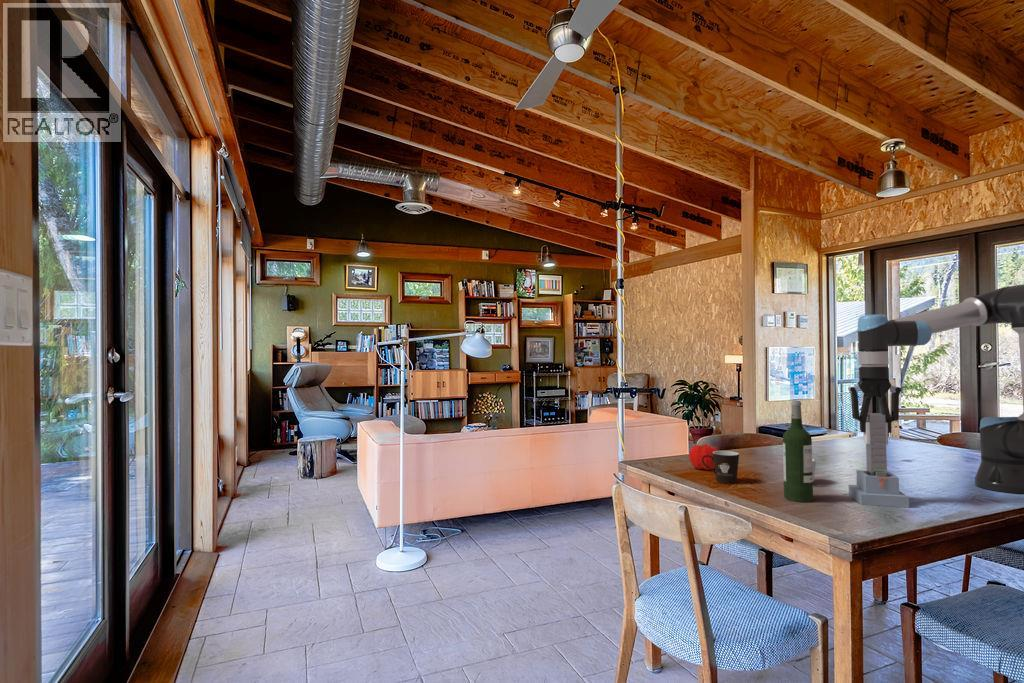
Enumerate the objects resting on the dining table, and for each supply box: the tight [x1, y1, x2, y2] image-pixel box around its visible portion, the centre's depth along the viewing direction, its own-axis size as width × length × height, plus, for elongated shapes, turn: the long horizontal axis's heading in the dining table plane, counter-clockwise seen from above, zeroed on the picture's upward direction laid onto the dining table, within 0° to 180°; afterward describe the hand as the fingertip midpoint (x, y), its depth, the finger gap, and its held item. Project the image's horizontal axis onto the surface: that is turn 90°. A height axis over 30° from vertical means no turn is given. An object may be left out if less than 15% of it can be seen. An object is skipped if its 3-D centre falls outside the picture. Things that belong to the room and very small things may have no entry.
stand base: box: [847, 469, 910, 508], centre depth 161 cm, size 12×12×9 cm
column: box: [865, 412, 888, 476], centre depth 161 cm, size 4×5×20 cm
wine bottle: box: [782, 399, 814, 503], centre depth 164 cm, size 8×8×30 cm
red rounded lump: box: [688, 443, 720, 471], centre depth 208 cm, size 11×12×9 cm
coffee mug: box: [702, 450, 740, 485], centre depth 188 cm, size 12×9×10 cm
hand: (875, 443), depth 161 cm, fingers closed on column, 4 cm apart
